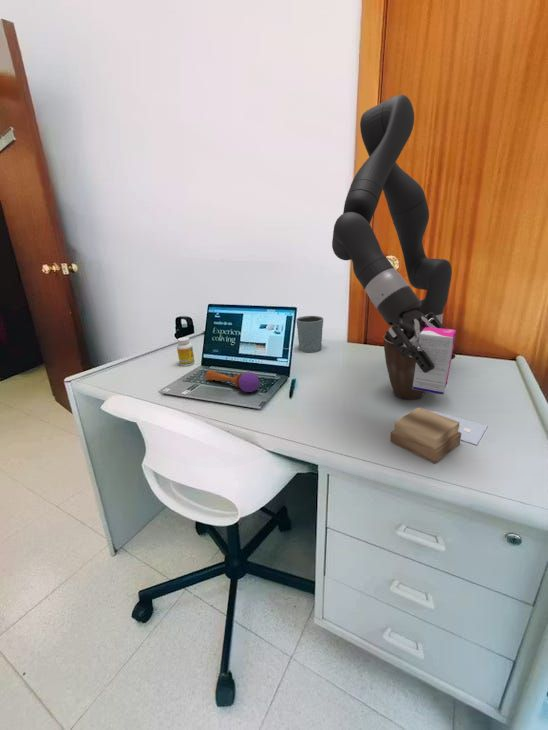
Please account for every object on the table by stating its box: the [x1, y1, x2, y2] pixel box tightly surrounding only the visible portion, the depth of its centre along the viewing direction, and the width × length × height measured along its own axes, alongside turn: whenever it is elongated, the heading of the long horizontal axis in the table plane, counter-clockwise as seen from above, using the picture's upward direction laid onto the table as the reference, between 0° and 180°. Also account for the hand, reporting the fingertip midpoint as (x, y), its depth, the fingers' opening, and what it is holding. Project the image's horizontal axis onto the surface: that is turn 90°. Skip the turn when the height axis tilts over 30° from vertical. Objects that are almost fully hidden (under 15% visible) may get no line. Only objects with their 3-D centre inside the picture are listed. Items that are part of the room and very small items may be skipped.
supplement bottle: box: [176, 336, 195, 367], centre depth 124 cm, size 5×5×10 cm
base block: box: [389, 406, 461, 464], centre depth 72 cm, size 10×10×5 cm
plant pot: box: [383, 333, 425, 400], centre depth 92 cm, size 15×15×16 cm
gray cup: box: [295, 315, 324, 354], centre depth 132 cm, size 10×10×12 cm
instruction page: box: [430, 410, 488, 446], centre depth 78 cm, size 9×12×1 cm
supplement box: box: [412, 327, 457, 395], centre depth 66 cm, size 6×6×12 cm
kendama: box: [205, 369, 260, 393], centre depth 105 cm, size 6×6×20 cm
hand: (440, 364), depth 66 cm, fingers closed on supplement box, 7 cm apart
